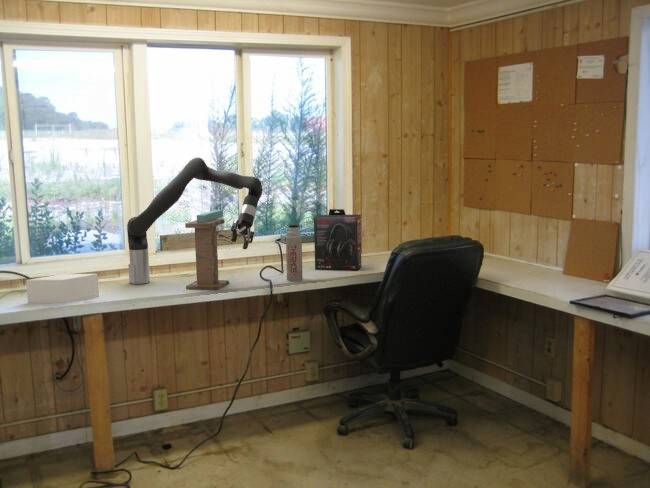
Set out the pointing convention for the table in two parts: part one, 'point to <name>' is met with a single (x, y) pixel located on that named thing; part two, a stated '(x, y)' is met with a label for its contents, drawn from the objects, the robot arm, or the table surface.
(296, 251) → the thermos bottle
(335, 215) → the headset box
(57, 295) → the block
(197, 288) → the walnut stand
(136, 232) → the robot arm
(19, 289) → the table surface
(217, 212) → the teal bar
